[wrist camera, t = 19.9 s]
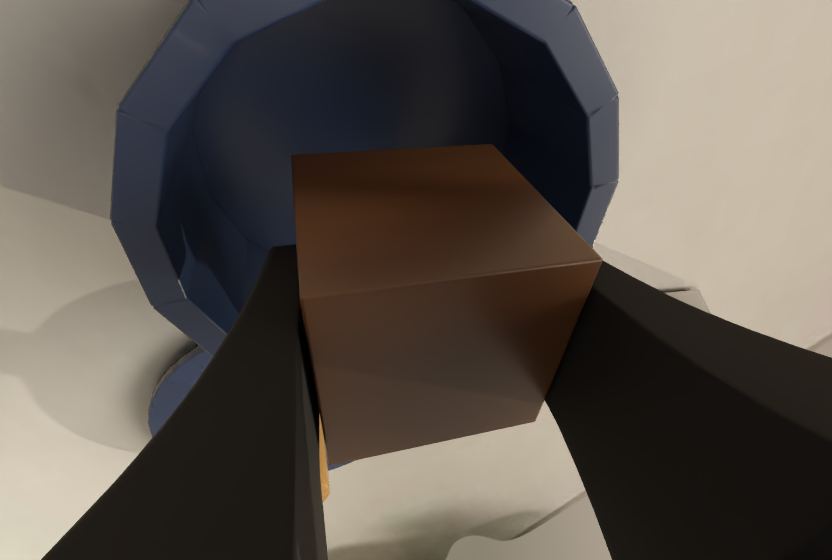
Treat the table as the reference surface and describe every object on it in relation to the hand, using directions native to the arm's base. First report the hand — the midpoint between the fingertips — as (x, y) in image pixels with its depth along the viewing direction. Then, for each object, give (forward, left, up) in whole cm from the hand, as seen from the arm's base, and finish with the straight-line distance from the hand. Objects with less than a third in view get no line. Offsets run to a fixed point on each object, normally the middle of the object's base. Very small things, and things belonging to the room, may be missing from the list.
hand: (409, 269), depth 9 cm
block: (0, 0, -1) cm, 1 cm away
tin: (0, 0, -6) cm, 6 cm away
